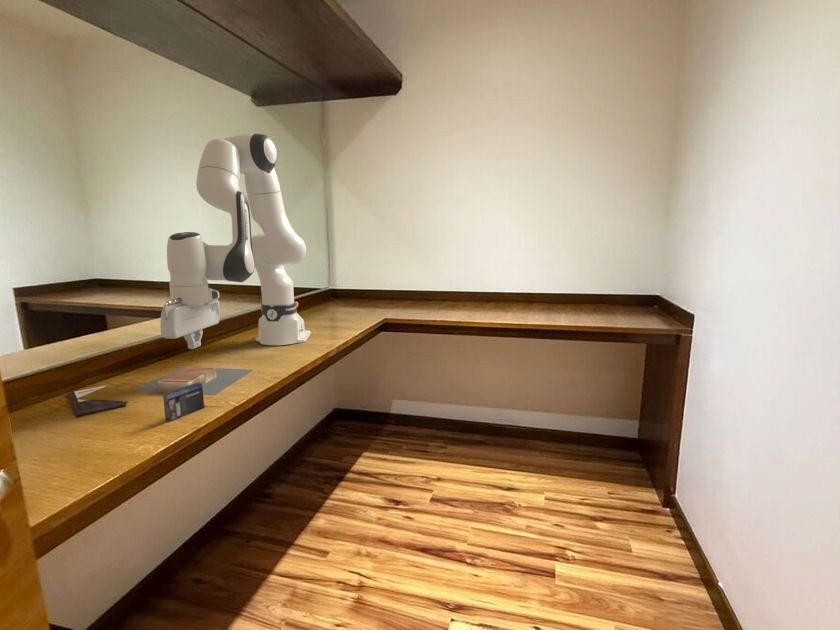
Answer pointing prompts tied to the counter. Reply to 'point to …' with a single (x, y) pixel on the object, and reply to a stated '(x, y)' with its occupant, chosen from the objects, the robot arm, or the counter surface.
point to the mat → (210, 388)
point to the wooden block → (186, 378)
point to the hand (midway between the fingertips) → (194, 347)
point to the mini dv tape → (183, 401)
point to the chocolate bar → (91, 403)
